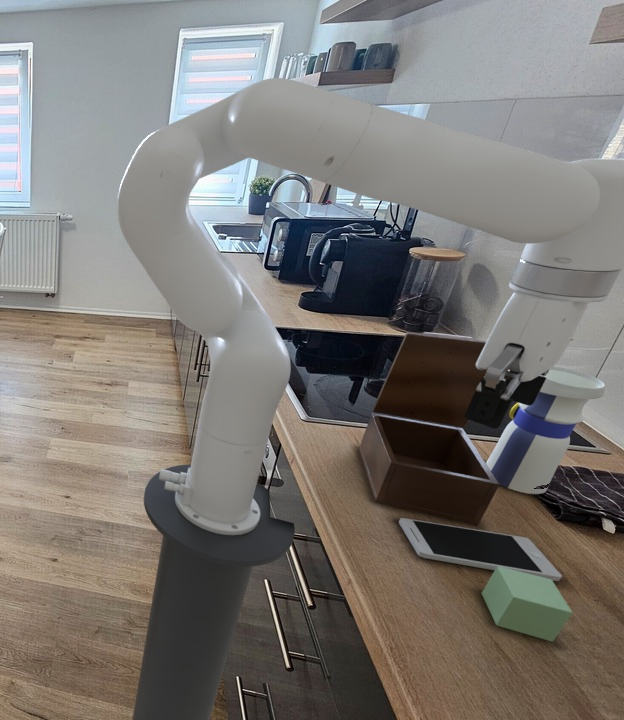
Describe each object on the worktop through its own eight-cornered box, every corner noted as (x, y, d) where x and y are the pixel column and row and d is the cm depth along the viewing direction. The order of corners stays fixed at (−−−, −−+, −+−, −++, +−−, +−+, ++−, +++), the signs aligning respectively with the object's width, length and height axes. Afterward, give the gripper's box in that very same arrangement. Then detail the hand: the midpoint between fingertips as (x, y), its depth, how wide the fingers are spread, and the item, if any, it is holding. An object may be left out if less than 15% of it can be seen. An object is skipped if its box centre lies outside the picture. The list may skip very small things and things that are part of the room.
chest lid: (513, 346, 73) (503, 330, 77) (407, 334, 78) (402, 319, 82) (464, 427, 83) (457, 410, 86) (372, 412, 88) (369, 396, 91)
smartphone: (560, 582, 65) (564, 577, 64) (419, 557, 69) (421, 552, 68) (525, 542, 71) (528, 537, 70) (397, 521, 75) (399, 516, 75)
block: (552, 642, 58) (573, 613, 55) (496, 625, 60) (514, 597, 57) (533, 607, 62) (552, 579, 59) (480, 593, 64) (497, 565, 62)
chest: (478, 525, 74) (499, 484, 71) (375, 502, 79) (391, 462, 76) (445, 465, 86) (463, 428, 83) (358, 448, 92) (371, 412, 88)
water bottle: (465, 467, 86) (528, 335, 75) (502, 459, 87) (570, 328, 77) (521, 499, 79) (600, 357, 68) (561, 489, 80) (645, 349, 69)
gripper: (544, 260, 61) (490, 381, 69) (482, 285, 54) (428, 418, 62) (637, 273, 55) (567, 405, 63) (581, 303, 48) (508, 448, 55)
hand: (498, 411), depth 62 cm, fingers open, 9 cm apart
